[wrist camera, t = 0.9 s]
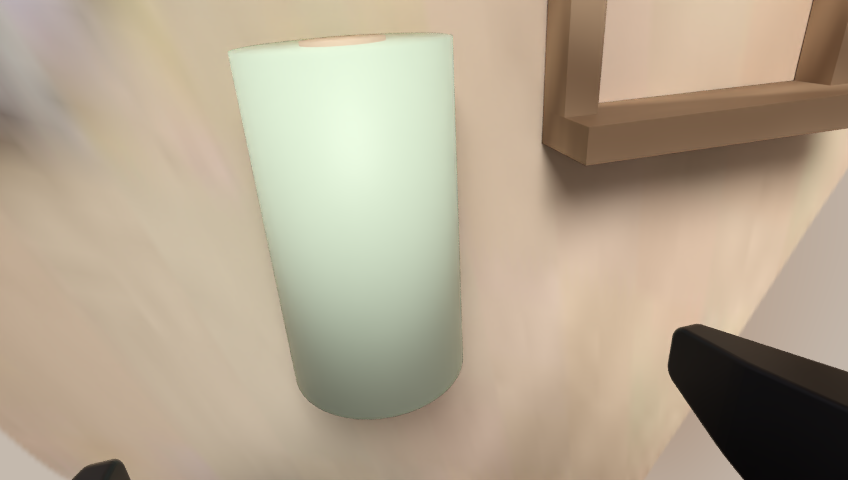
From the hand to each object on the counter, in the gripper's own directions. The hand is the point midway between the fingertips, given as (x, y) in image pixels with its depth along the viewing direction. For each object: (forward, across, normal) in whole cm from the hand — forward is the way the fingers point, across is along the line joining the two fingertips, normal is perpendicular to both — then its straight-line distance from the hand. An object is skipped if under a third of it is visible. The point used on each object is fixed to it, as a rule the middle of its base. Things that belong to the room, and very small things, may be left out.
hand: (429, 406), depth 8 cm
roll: (+11, 0, 0) cm, 11 cm away
